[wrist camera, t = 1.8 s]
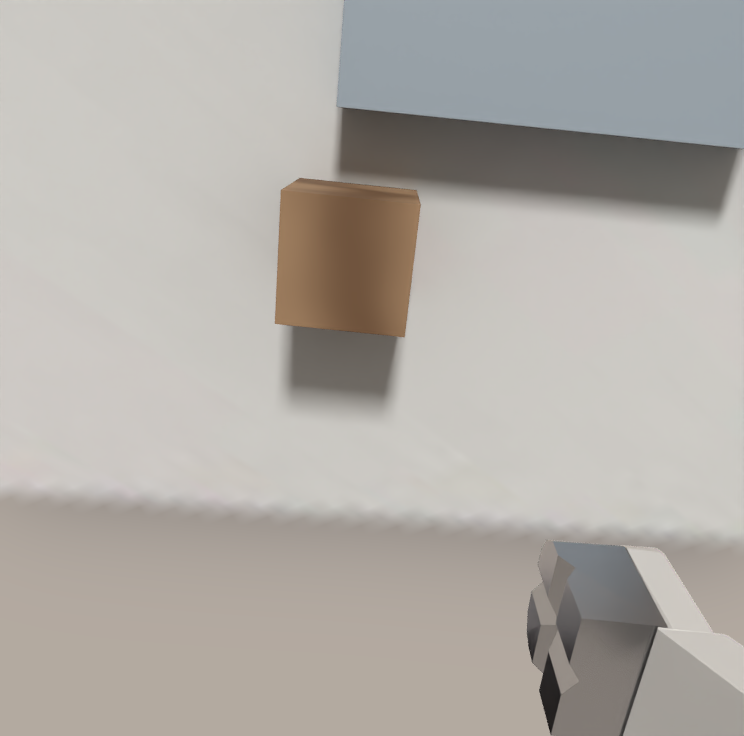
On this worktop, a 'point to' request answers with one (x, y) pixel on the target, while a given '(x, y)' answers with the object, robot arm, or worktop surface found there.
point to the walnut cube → (346, 256)
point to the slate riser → (553, 64)
